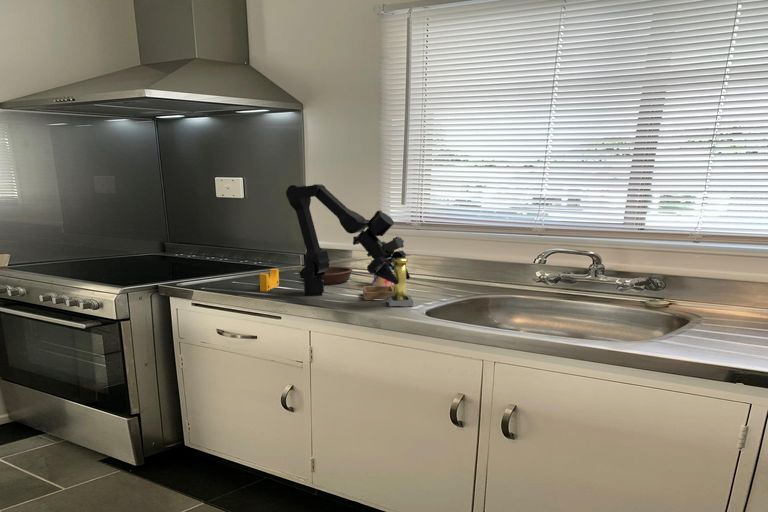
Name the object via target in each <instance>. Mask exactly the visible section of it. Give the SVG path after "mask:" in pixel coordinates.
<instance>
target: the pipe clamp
mask: <svg viewBox="0 0 768 512" xmlns="http://www.w3.org/2000/svg"><path fill="white" fill-rule="evenodd" d="M279 285H280V275H279V268H271V269H270V270H269V273H259V286H260V287H259V288H260V289H259V291H260V292H269V291H270V289H271V290H273V289H275V288H277V287H278V286H279ZM268 290H269V291H268Z"/></svg>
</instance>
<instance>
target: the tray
mask: <svg viewBox="0 0 768 512" xmlns="http://www.w3.org/2000/svg"><path fill="white" fill-rule="evenodd" d="M362 295H363V298H364V299H365V300H374V299H387V296H394V285H393V286H373V285H364V286H362ZM364 299H363V300H364ZM365 300H364V301H365Z"/></svg>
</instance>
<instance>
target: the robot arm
mask: <svg viewBox="0 0 768 512" xmlns="http://www.w3.org/2000/svg"><path fill="white" fill-rule="evenodd" d="M285 194H286V195H285V196H286V198H287V201H288V203H289V205H290V207H291V208H292V209H293V210H294V211H295V213H296V217H297V221H298V226H299V228H300V229H299V230H300V233H301V236H302V240H303V244H304V247H305V254H304V267H303V268H302V269H301V270H300V271H299V273H298V274H299V276H300V279H301V280H302V279H303V288H304V289H303V291H304V292H303V296H305V297H306V296H310V297H311V296H323V293H324V291H325V284H324V280H322V276H324V275H325V273H326V270H327V269H328V267H330V262H331V259H330V258H329V255H328V250H323V249H322V248H321V246H320V243H319V239H318V236H317V232H316V229H315V225H314V224H315V223H314V220H313V217H312V213H311V209H310V207H311V201H312V199H311V198H312V197H313V198H314V197H315V198H316V199H317V200H318V201H319V202H320V203H321V204H322V205H323V206H325V207H326V209H328V210H329V211H330V212H331V213H332V214H333V215H334V216H335V217H336V218H337V220H338V221H339V224H340V225H341V227H342V228H343V229H344V231H345V232H346V233H348V234H358V233H359V234H358V235H356V236H353V241H352V244H353V246H355V245H359V244H360V245H361V246H362V247H363V248H364V250H365V251H366V252H367V254H366V256H367V257H368V258H369V257H371V259H372V258H373V259H374V260H373V261H372V262H370V263H369V264H368V265H367V272H368V273H369V274H370V275H376V276H379V277H381V278H383V279H386V280H388V281H390V282H392V283H394V284H398V283H399V281H398V280H397V278H396V277H395V275H394V263H393V262H392V259H393V258H406V257H407V254H406V252H404V250H400V248H402V249H403V248H404V247H405V245H404V242H405V241H404V239H402V237H400V236H396V237H394V238H392V240H390V241H388V242H386V241H381V239H379V237H383V236H384V235H385V234H386V233H387V232H388V231H389V230H390V229H391V228H392V227H393V226H394V224H395V222H394V219H393V218H392V217H391V216H389V215H388V214H386V213H384V212H383V211H382V210H380V209H379V210H377V211H376V212H375V213H374V215H373V216H372V217H371V218H370V219H367V218H365V217H364V216H363V215H361V214H359V213H358V212H356V211H354V210H351V209H350V208H348V207H347V205H344V204H343V203H342V202H341V201H340V200H339V199H338V198H337V197H336V196H335V195H334V194H333V193H331V192H330V190H328V189H327V188H326V187H325V185H323V184H320V183H319V184H317V183H316V184H312V185H305V184H291V185H289V186H288V187H287V189H286V191H285ZM398 249H399V250H398ZM390 267H392V268H391V269H392V270H393V272H392V271H391V269H390ZM375 272H376V273H375ZM374 273H375V274H374ZM410 279H411V276H410V273H409V271H408V269H407V268H406V280H410Z"/></svg>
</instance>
